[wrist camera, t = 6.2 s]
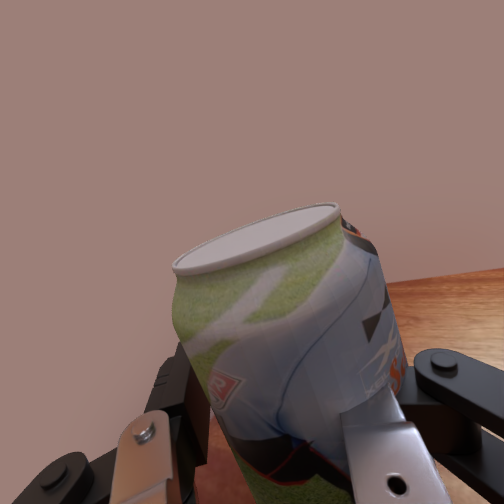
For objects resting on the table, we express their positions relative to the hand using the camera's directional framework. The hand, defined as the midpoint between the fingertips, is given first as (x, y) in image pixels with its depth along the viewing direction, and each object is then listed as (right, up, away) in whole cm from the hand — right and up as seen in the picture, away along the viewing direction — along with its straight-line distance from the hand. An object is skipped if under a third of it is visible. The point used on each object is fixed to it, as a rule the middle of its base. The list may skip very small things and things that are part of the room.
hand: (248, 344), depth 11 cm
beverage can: (+3, -7, -1) cm, 8 cm away
